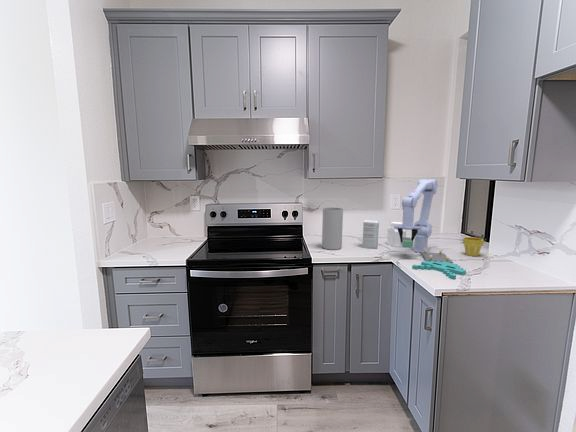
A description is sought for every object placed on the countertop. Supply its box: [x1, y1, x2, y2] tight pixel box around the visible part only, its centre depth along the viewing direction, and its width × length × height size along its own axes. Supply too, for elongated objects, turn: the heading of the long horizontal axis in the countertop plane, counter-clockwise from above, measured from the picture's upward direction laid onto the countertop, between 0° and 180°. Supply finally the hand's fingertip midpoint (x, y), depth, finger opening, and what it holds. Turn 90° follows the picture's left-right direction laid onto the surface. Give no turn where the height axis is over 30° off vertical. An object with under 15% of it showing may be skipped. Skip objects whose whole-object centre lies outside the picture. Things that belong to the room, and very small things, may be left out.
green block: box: [401, 237, 414, 249], centre depth 174 cm, size 11×5×4 cm, turn 167°
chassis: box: [419, 248, 454, 263], centre depth 172 cm, size 18×13×4 cm
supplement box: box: [361, 219, 380, 250], centre depth 197 cm, size 10×9×17 cm
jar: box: [386, 221, 407, 248], centre depth 202 cm, size 12×10×15 cm
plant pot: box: [462, 236, 484, 257], centre depth 180 cm, size 10×10×10 cm
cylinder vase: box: [321, 207, 344, 251], centre depth 193 cm, size 12×12×25 cm
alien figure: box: [411, 260, 467, 280], centre depth 152 cm, size 20×2×20 cm
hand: (406, 242), depth 174 cm, fingers closed on green block, 5 cm apart
